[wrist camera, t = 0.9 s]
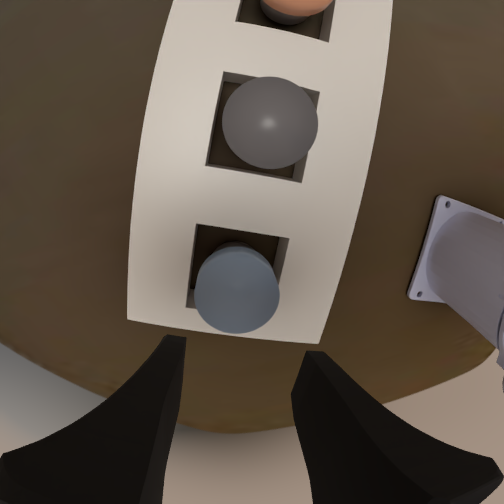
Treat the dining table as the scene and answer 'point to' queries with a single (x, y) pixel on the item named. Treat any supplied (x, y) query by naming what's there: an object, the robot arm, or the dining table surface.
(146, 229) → the button panel
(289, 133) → the charcoal button
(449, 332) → the dining table surface
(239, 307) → the slate blue button
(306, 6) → the terracotta button
